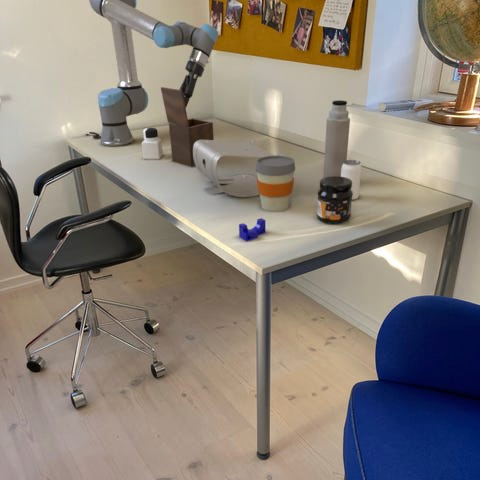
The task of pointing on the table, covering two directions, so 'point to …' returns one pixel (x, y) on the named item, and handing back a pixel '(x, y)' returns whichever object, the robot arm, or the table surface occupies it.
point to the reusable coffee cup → (275, 181)
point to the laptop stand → (218, 149)
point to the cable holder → (252, 230)
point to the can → (352, 175)
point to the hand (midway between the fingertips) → (177, 112)
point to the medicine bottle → (151, 144)
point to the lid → (175, 106)
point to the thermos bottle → (336, 139)
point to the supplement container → (334, 200)
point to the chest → (188, 139)
